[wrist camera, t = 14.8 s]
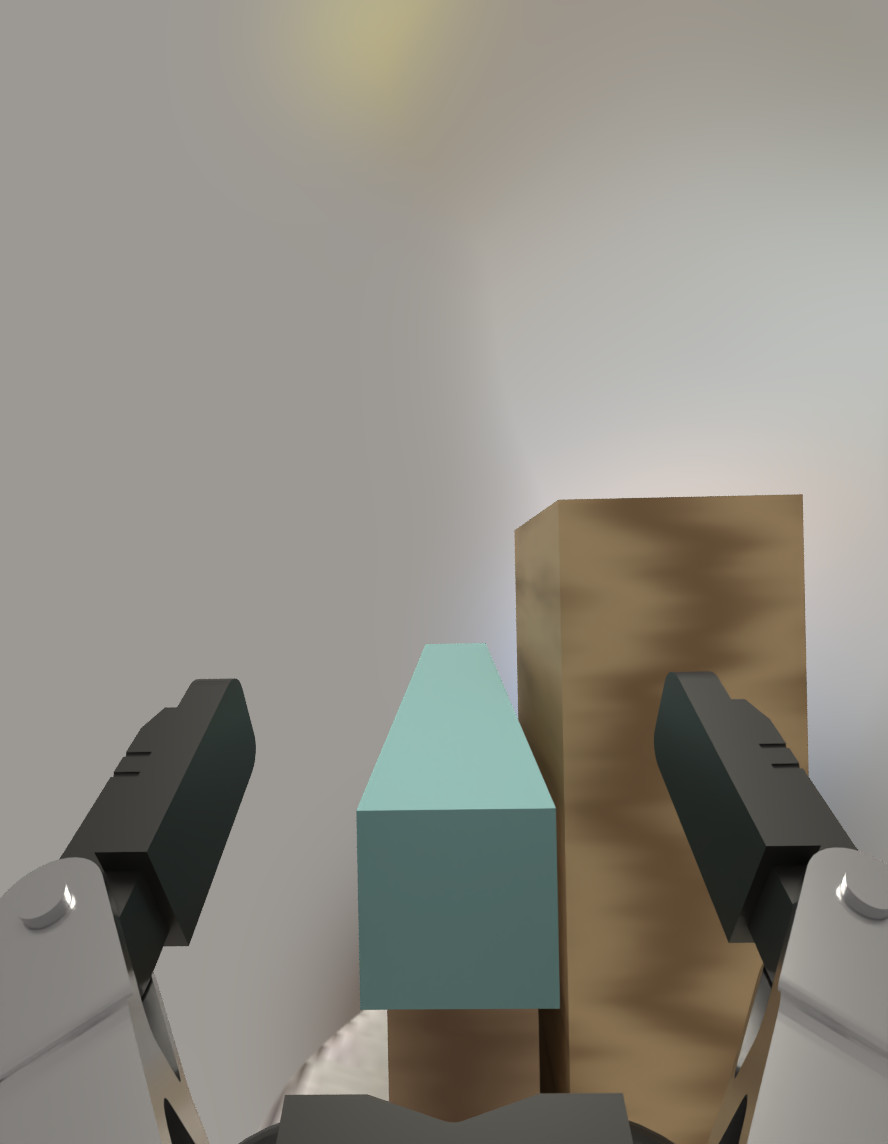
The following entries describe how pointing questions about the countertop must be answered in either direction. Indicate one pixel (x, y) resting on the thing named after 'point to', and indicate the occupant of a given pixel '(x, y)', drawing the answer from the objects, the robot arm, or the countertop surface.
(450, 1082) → the step
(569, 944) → the stand
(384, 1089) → the countertop surface
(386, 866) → the rail
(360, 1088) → the countertop surface
